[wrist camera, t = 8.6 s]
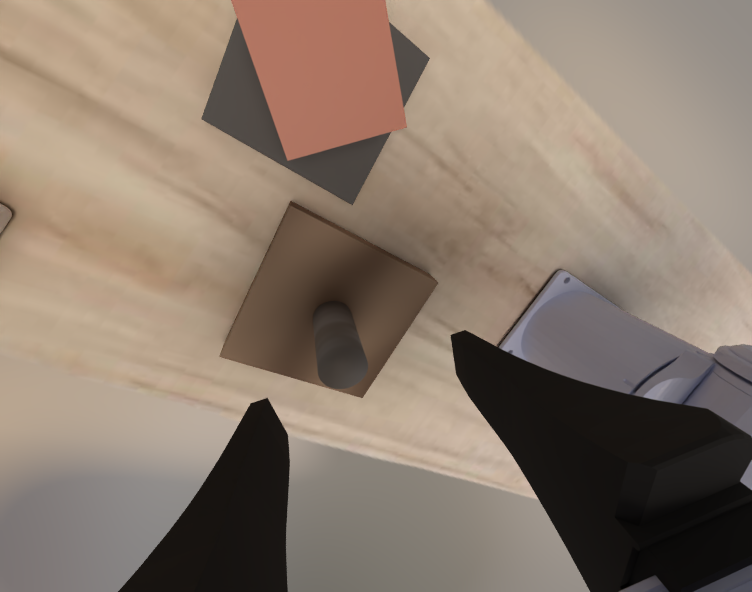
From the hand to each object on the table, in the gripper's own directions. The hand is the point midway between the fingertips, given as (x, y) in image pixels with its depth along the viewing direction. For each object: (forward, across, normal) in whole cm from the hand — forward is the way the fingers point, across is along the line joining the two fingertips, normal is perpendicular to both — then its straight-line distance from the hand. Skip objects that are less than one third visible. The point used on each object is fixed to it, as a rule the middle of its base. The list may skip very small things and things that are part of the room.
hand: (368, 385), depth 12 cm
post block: (+9, +1, +1) cm, 10 cm away
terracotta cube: (+9, -2, -10) cm, 14 cm away
